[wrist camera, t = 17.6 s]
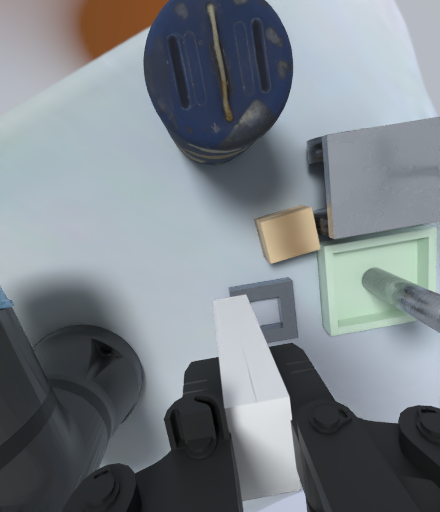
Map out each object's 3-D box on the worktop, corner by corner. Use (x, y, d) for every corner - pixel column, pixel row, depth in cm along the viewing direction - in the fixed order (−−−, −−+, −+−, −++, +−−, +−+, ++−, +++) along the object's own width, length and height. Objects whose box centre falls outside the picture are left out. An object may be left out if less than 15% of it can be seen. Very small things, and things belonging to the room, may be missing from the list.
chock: (263, 256, 38) (270, 263, 34) (253, 218, 37) (260, 222, 33) (308, 242, 38) (320, 249, 34) (299, 205, 37) (311, 207, 33)
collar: (237, 342, 40) (238, 347, 39) (228, 287, 39) (229, 291, 37) (294, 331, 41) (298, 337, 39) (288, 277, 39) (292, 280, 37)
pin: (358, 297, 39) (453, 362, 25) (356, 266, 38) (453, 313, 24) (390, 291, 40) (503, 352, 25) (388, 260, 39) (506, 303, 24)
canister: (255, 81, 33) (317, -37, 16) (249, 168, 35) (296, 150, 18) (169, 74, 33) (134, -58, 15) (168, 163, 35) (135, 139, 17)
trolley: (307, 230, 38) (397, 266, 20) (299, 144, 35) (394, 103, 18) (398, 214, 38) (564, 237, 21) (397, 128, 35) (583, 73, 18)
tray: (322, 327, 41) (331, 336, 38) (315, 242, 38) (324, 246, 35) (421, 309, 41) (435, 317, 39) (421, 224, 38) (436, 227, 36)
